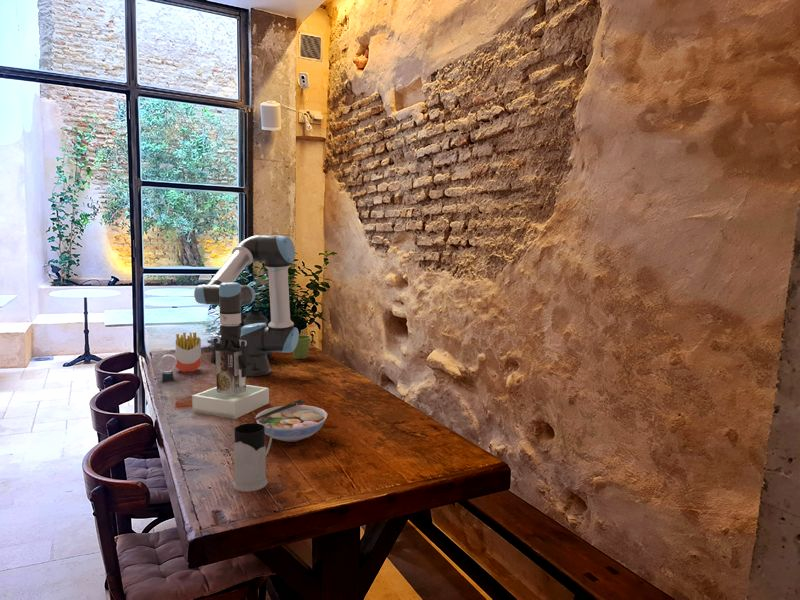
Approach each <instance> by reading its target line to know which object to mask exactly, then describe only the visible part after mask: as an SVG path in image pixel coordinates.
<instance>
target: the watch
mask: <svg viewBox="0 0 800 600" xmlns="http://www.w3.org/2000/svg"><path fill="white" fill-rule="evenodd" d="M167 357H171V358H173V359H174V360H175V361H174V364H173V366H172V368H171V369H169V370H163V369H162V368H161V366H162V365H163V364H164V362H165V360H166V358H167ZM156 364H157V365H156V366H158V367H157V368H158V370H159V371H160V372H161V373H162V374H161V375H162V376H161V378H162V382H166V381H167V380H170V381H174V370H176V368H177V367H176V365H177V360H176V356H174V355H173V354H164V355H161V357H160V359H159V361H158V363H156ZM167 382H168V381H167Z"/></svg>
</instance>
